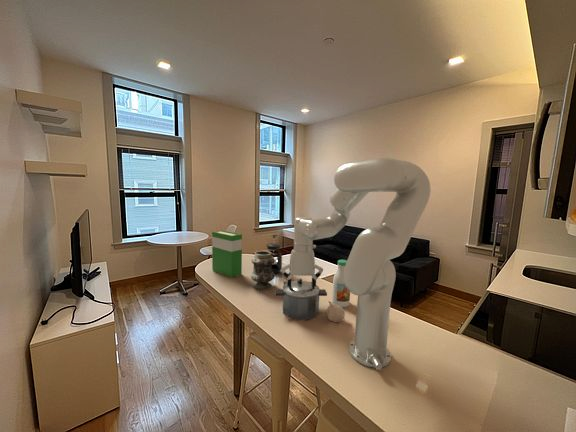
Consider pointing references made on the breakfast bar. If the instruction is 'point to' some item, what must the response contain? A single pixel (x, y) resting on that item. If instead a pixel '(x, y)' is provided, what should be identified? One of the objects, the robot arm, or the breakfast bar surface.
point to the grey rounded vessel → (262, 270)
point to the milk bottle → (340, 287)
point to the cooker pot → (300, 305)
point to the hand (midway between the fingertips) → (301, 287)
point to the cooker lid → (301, 289)
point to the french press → (277, 263)
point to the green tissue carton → (227, 253)
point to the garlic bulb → (335, 313)
